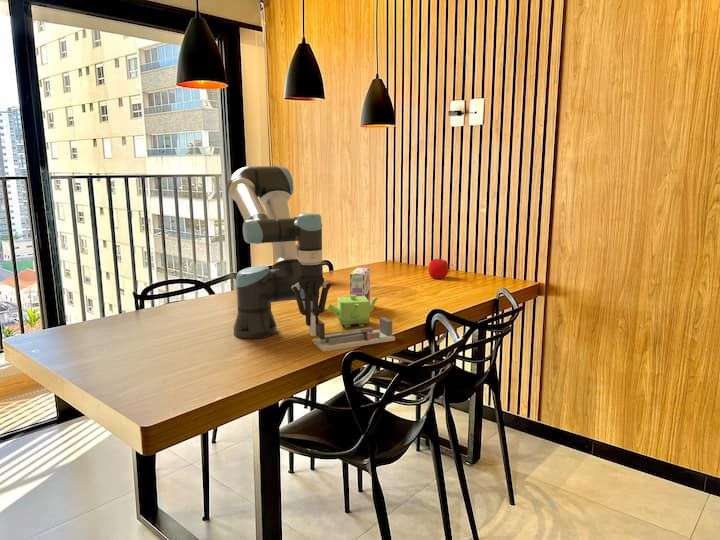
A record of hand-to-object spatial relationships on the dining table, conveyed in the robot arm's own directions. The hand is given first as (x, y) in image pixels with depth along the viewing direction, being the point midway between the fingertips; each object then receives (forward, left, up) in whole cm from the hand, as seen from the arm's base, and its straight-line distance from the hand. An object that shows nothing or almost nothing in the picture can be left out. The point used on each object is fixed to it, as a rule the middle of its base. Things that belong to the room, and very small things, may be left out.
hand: (312, 334), depth 167 cm
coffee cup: (+15, +47, -5) cm, 50 cm away
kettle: (+23, +18, -5) cm, 30 cm away
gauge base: (+15, 0, -5) cm, 15 cm away
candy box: (+34, +37, -5) cm, 51 cm away
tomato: (+97, +76, -5) cm, 123 cm away
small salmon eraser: (+18, -4, -3) cm, 19 cm away
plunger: (+10, -1, -3) cm, 10 cm away
